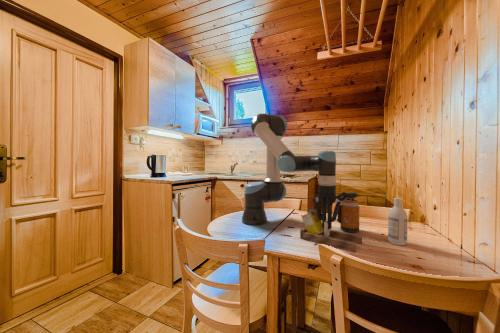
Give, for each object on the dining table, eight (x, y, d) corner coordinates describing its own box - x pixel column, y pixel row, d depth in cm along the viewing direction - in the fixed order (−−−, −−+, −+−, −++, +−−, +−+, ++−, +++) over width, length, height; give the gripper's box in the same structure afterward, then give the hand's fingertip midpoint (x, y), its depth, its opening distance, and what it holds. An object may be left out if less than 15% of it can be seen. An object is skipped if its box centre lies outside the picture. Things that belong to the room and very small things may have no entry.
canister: (361, 233, 107) (362, 193, 106) (338, 232, 109) (338, 193, 109) (356, 228, 116) (356, 191, 115) (334, 227, 118) (335, 190, 117)
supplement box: (326, 233, 101) (317, 210, 104) (319, 235, 97) (310, 212, 101) (316, 235, 105) (308, 213, 109) (309, 238, 101) (301, 215, 105)
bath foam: (402, 240, 98) (403, 197, 97) (410, 246, 91) (411, 199, 91) (385, 239, 100) (386, 196, 99) (391, 245, 93) (392, 199, 92)
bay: (295, 237, 103) (295, 213, 103) (308, 229, 115) (309, 208, 114) (355, 252, 86) (355, 224, 86) (363, 240, 98) (364, 216, 97)
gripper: (310, 184, 100) (310, 234, 101) (339, 186, 92) (338, 241, 92) (316, 183, 106) (316, 230, 106) (344, 184, 97) (344, 236, 98)
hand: (326, 235), depth 99 cm, fingers closed
